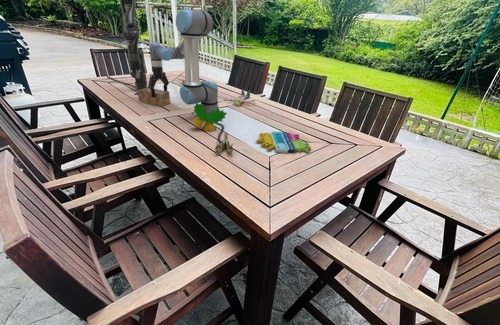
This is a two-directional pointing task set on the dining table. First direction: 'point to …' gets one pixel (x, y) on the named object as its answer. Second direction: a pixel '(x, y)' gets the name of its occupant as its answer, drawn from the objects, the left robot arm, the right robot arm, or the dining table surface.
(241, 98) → the toy
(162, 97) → the wooden recessed-top box
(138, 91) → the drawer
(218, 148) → the jawbone
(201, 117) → the ornament
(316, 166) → the dining table surface
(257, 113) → the dining table surface
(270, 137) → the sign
